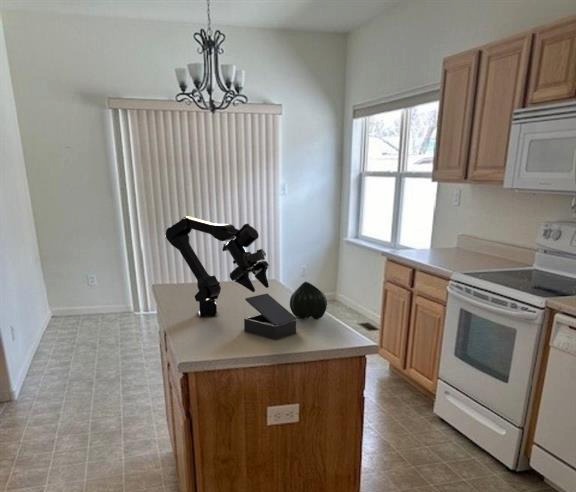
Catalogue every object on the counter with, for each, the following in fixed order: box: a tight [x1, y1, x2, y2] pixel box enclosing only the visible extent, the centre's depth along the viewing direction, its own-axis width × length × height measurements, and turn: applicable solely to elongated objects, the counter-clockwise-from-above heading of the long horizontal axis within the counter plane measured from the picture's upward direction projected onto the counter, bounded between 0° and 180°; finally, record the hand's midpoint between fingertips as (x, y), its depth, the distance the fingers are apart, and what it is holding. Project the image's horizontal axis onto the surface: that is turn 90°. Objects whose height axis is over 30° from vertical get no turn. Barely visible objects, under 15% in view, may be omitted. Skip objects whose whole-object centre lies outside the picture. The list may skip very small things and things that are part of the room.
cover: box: [244, 293, 298, 326], centre depth 195 cm, size 16×12×1 cm
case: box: [243, 313, 297, 340], centre depth 197 cm, size 16×12×5 cm
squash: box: [289, 281, 328, 320], centre depth 216 cm, size 14×15×15 cm
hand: (261, 289), depth 201 cm, fingers open, 9 cm apart
